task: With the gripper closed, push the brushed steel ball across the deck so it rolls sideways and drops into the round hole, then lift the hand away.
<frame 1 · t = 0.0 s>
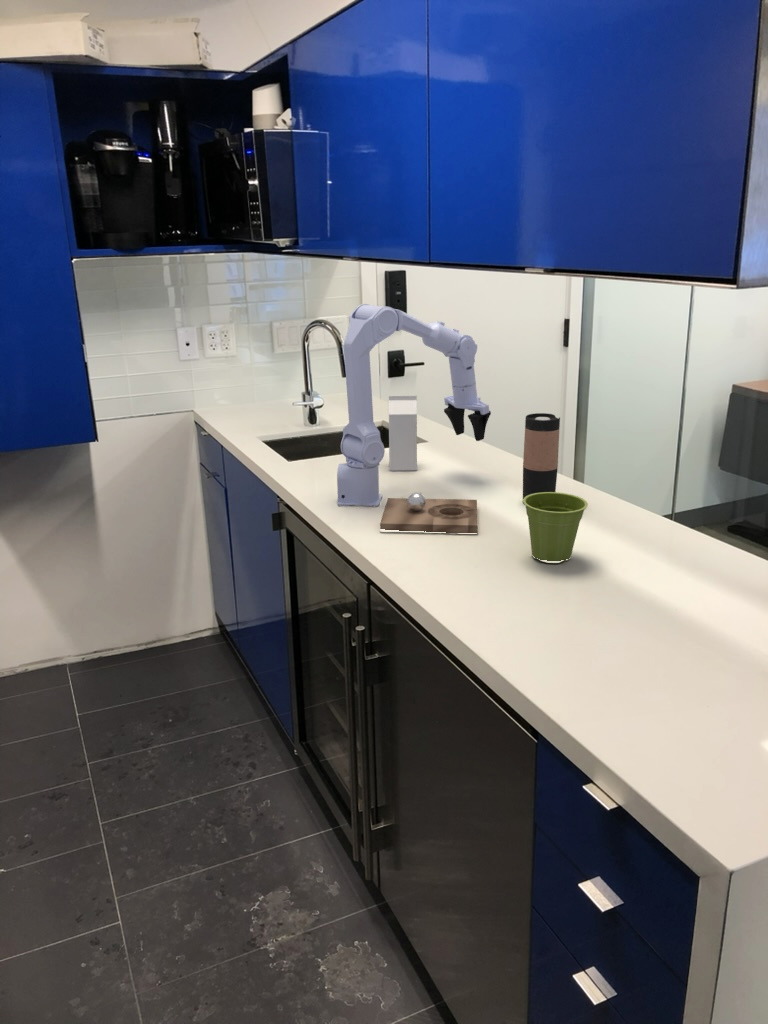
hand: (469, 436, 205), 11 cm above the worktop, tool pointing down, fingers open, 7 cm apart
ball: (416, 501, 178), point 4 cm above the worktop, touching deck
deck: (430, 519, 179), on the worktop
plant pot: (551, 558, 158), on the worktop
milk carton: (403, 468, 219), on the worktop
travel mug: (538, 503, 189), on the worktop
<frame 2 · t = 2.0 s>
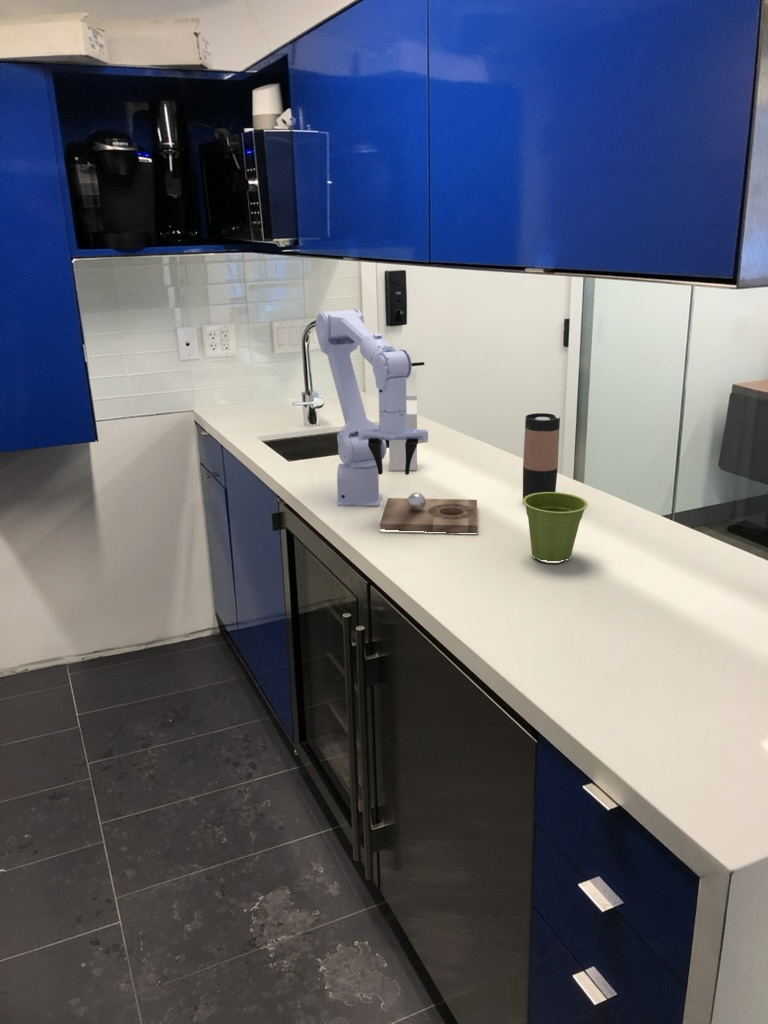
hand: (393, 473, 176), 10 cm above the worktop, tool pointing down, fingers open, 5 cm apart
nothing on the worktop moved.
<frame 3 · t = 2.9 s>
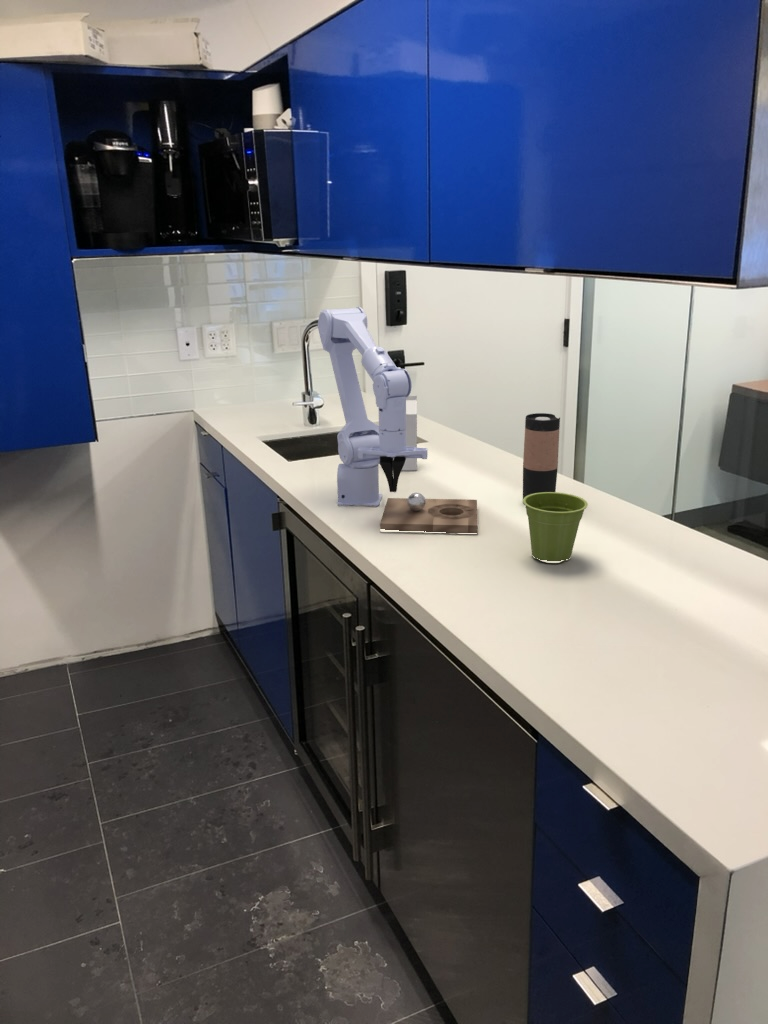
hand: (393, 490, 178), 6 cm above the worktop, tool pointing down, fingers closed
nothing on the worktop moved.
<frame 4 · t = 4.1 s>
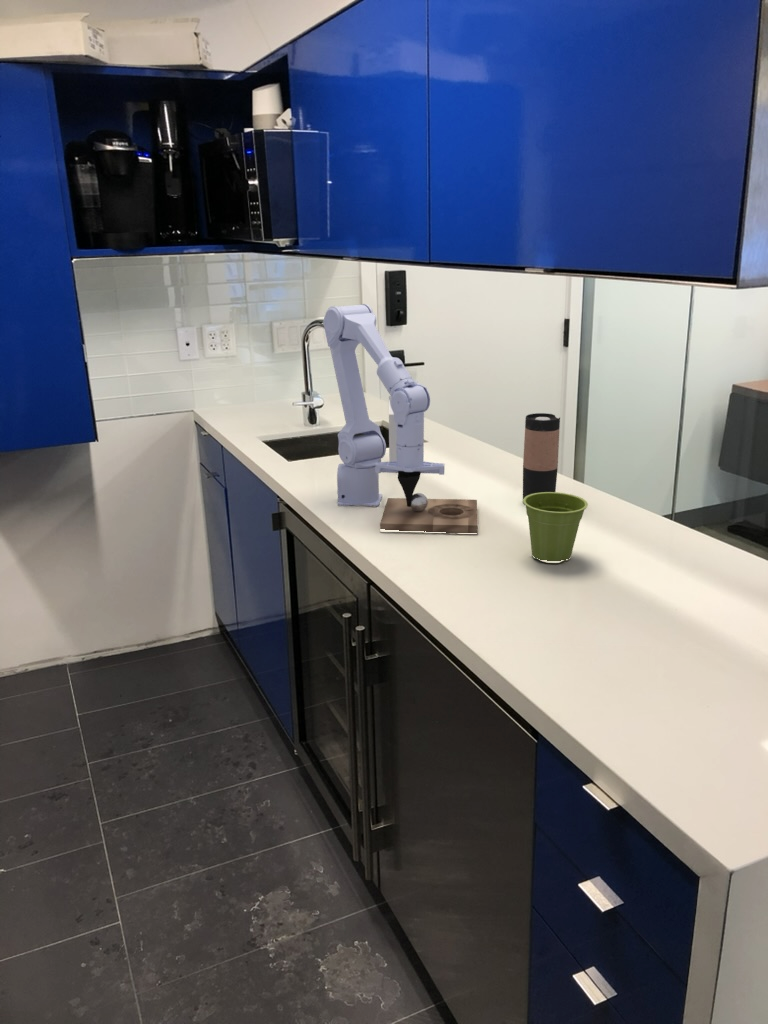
hand: (409, 505, 178), 3 cm above the worktop, tool pointing down, fingers closed, pressing on ball
ball: (418, 502, 178), point 4 cm above the worktop, tilted 14°, touching deck, gripper
everything else where it was.
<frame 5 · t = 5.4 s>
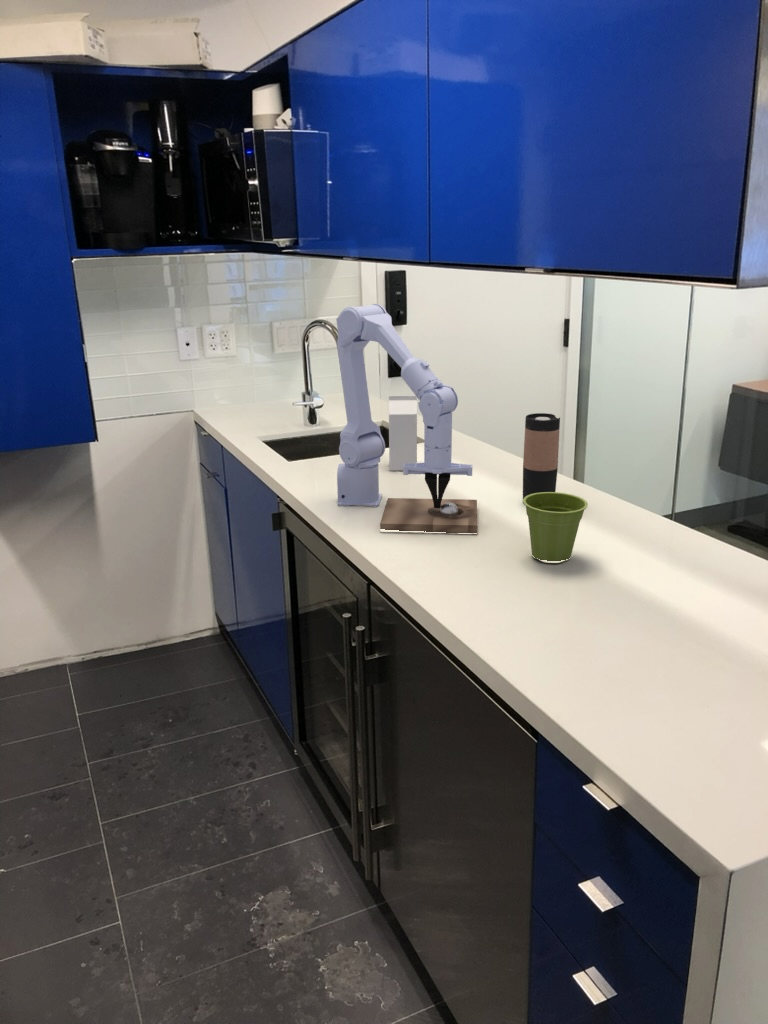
hand: (437, 506, 178), 3 cm above the worktop, tool pointing down, fingers closed
ball: (449, 511, 178), point 2 cm above the worktop, tilted 156°
everything else where it was.
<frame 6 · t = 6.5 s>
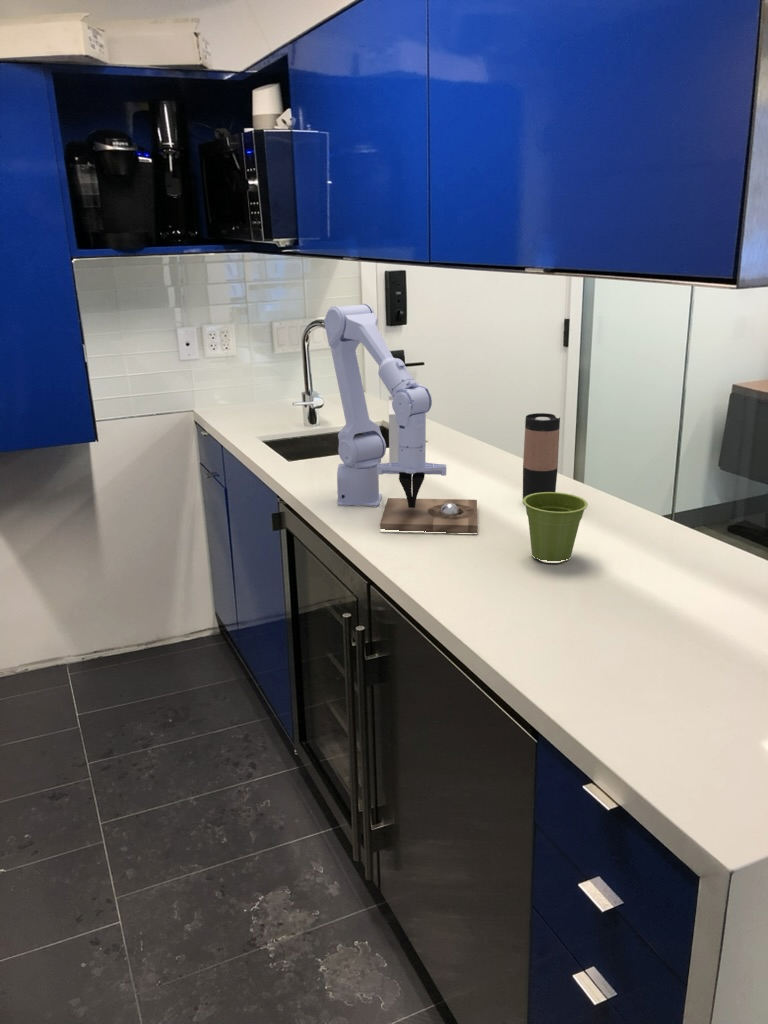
hand: (411, 506, 178), 3 cm above the worktop, tool pointing down, fingers closed
ball: (449, 512, 178), point 2 cm above the worktop, tilted 146°
everything else where it was.
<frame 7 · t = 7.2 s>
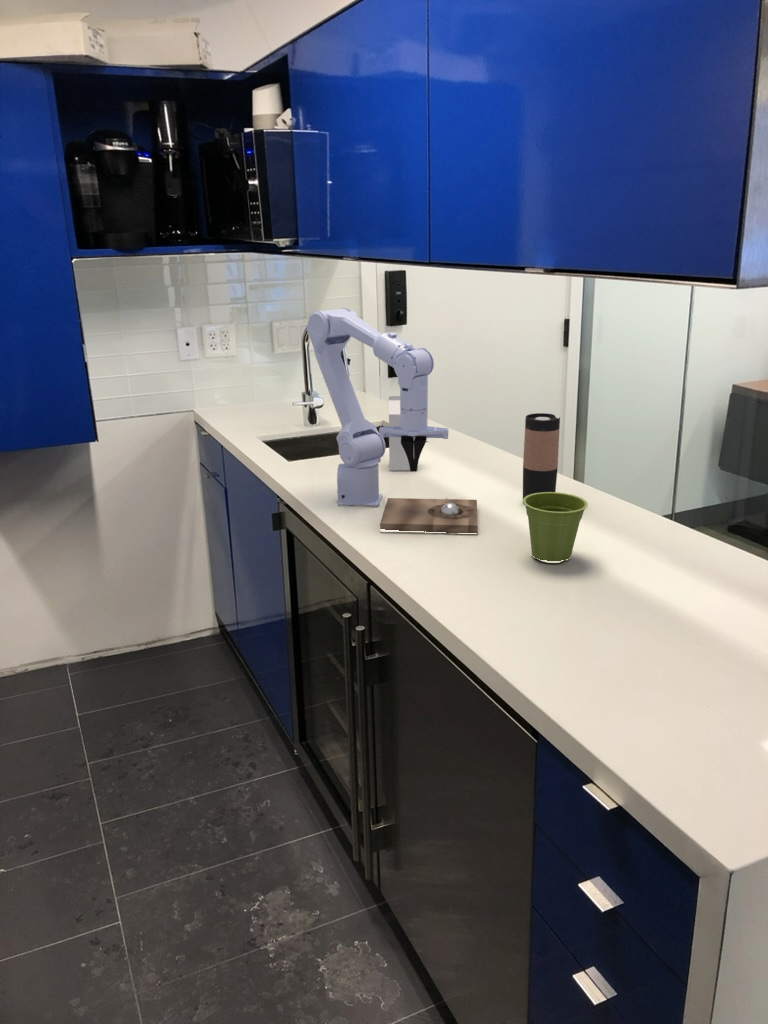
hand: (413, 470, 178), 10 cm above the worktop, tool pointing down, fingers closed
nothing on the worktop moved.
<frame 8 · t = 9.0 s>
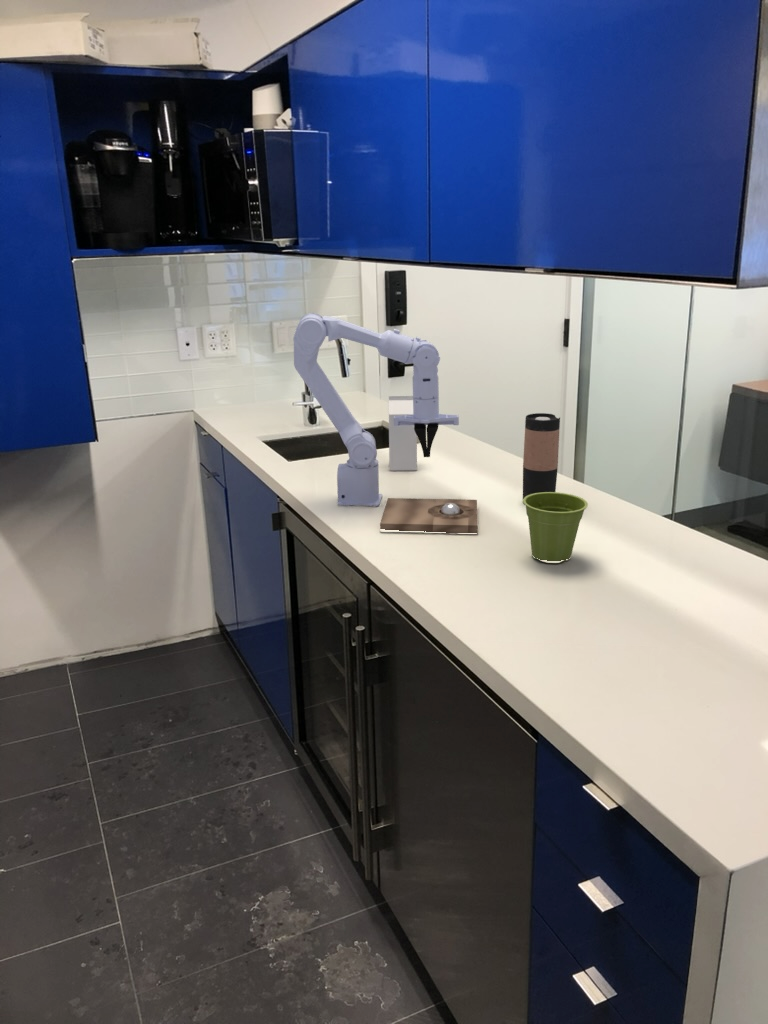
hand: (426, 456, 189), 10 cm above the worktop, tool pointing down, fingers closed
nothing on the worktop moved.
at the end: ball 0.4 cm from the target spot on the deck, point 2.0 cm above the deck's base; ball moved 7.7 cm from its start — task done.
